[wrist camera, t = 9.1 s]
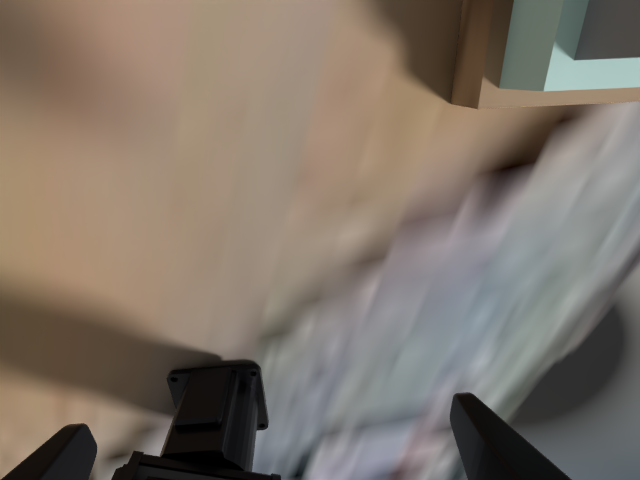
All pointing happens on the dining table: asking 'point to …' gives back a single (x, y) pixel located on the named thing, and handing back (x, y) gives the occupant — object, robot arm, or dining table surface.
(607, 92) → the tan flat block
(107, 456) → the dining table surface
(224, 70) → the dining table surface
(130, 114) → the dining table surface
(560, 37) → the teal slab
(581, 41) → the charcoal block
